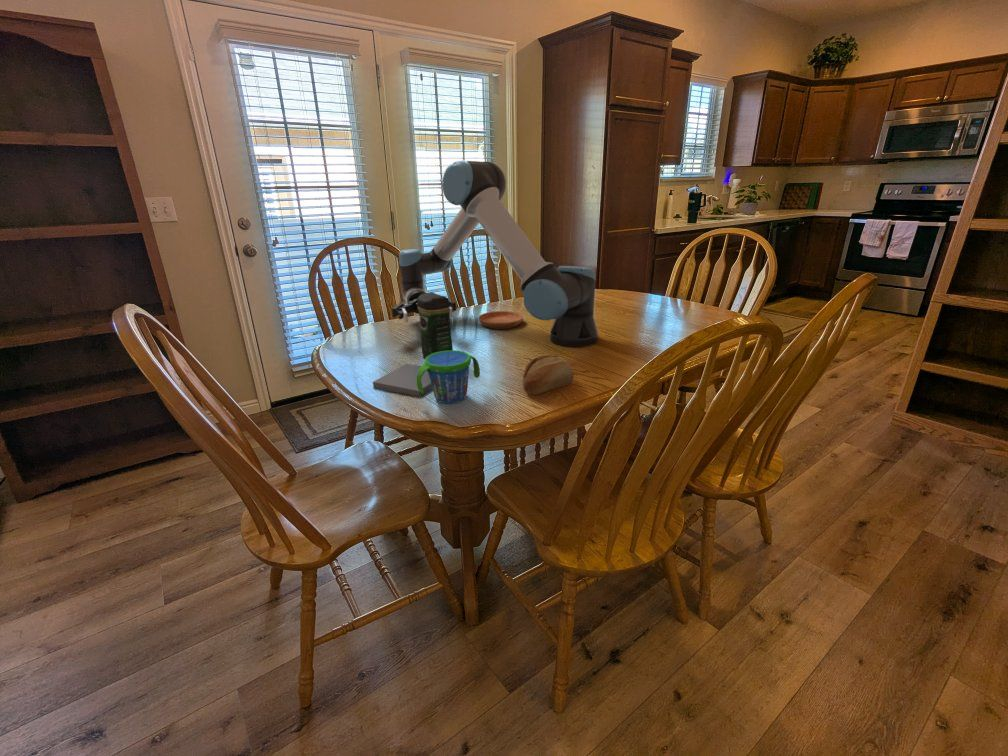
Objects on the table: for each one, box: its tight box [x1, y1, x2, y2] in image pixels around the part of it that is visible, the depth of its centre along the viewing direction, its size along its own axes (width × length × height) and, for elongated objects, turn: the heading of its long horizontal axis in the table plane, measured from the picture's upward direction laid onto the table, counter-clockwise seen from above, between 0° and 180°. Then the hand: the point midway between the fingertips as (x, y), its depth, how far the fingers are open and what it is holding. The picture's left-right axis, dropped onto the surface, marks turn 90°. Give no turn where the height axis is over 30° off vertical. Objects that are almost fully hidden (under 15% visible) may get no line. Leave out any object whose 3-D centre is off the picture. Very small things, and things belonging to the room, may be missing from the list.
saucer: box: [478, 310, 524, 330], centre depth 169 cm, size 16×16×3 cm
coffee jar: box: [418, 291, 454, 358], centre depth 135 cm, size 10×8×19 cm
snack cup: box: [417, 349, 481, 404], centre depth 109 cm, size 16×10×10 cm
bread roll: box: [522, 354, 575, 396], centre depth 114 cm, size 10×15×8 cm, turn 132°
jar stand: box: [372, 363, 433, 397], centre depth 120 cm, size 14×14×2 cm
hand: (429, 315), depth 141 cm, fingers open, 13 cm apart
